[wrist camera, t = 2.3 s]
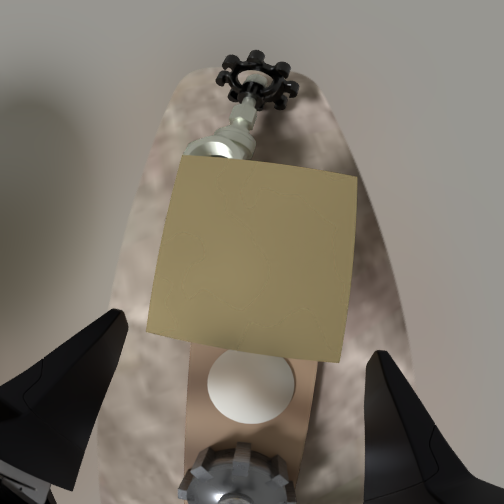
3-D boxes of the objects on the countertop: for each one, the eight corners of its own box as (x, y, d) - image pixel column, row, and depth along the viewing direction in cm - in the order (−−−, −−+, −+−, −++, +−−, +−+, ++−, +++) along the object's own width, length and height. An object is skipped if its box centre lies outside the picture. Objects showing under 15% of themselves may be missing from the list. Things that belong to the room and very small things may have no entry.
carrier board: (286, 512, 16) (287, 520, 15) (186, 501, 17) (183, 508, 16) (325, 239, 20) (328, 235, 19) (207, 229, 21) (203, 224, 20)
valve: (261, 239, 21) (295, 111, 23) (259, 210, 14) (303, 57, 16) (176, 218, 21) (224, 98, 23) (143, 184, 15) (213, 45, 17)
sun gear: (284, 516, 15) (287, 546, 11) (187, 505, 16) (175, 533, 12) (300, 445, 17) (307, 473, 13) (189, 433, 17) (173, 458, 13)
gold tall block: (305, 343, 18) (367, 400, 6) (201, 327, 19) (110, 357, 7) (319, 241, 19) (388, 154, 8) (218, 226, 20) (160, 126, 8)
